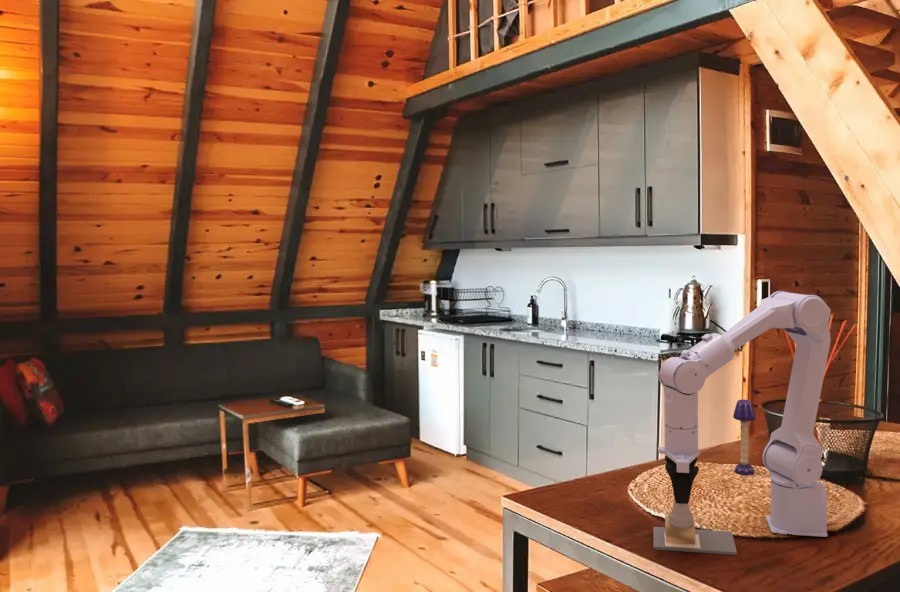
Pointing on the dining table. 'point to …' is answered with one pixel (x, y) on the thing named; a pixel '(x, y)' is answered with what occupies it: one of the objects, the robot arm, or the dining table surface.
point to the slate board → (698, 542)
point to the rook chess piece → (681, 515)
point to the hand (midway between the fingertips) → (681, 499)
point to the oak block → (679, 533)
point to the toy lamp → (744, 434)
